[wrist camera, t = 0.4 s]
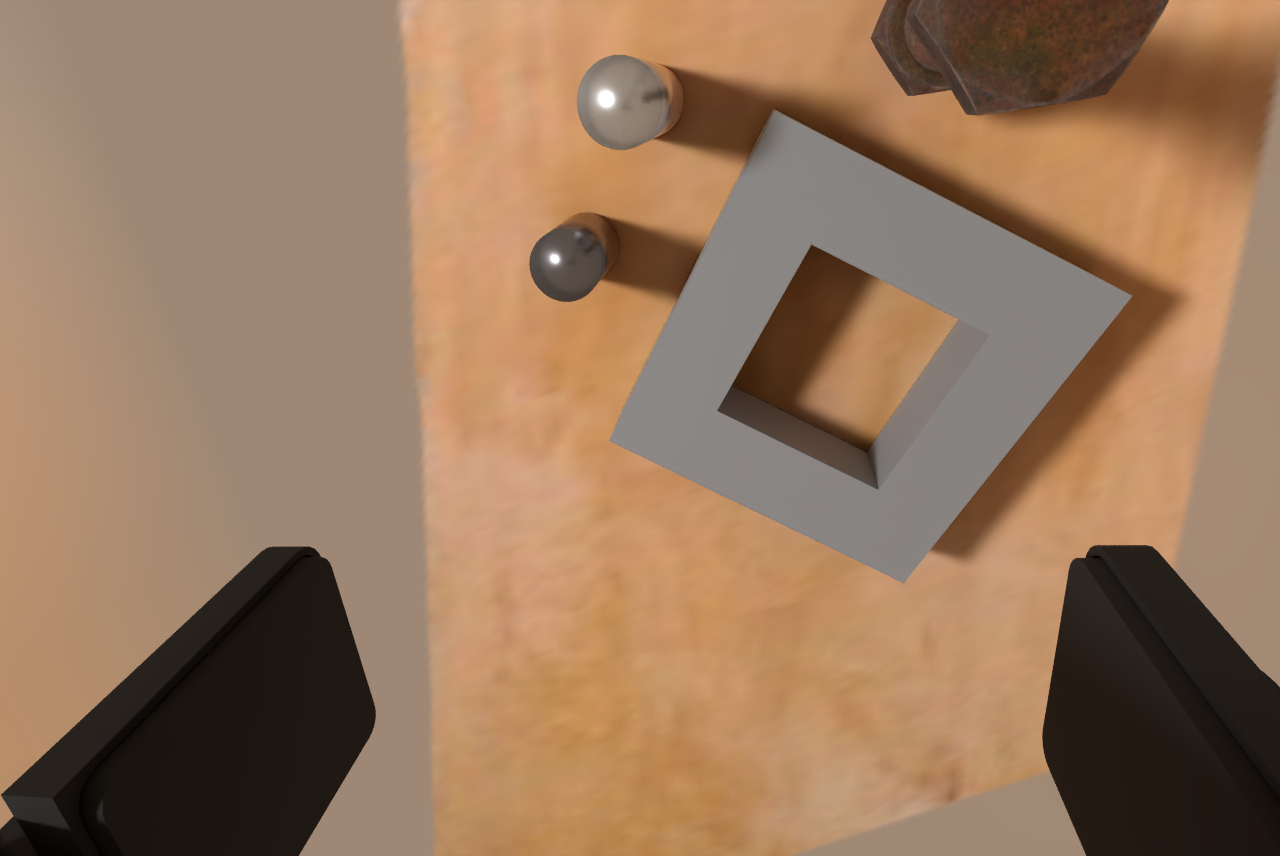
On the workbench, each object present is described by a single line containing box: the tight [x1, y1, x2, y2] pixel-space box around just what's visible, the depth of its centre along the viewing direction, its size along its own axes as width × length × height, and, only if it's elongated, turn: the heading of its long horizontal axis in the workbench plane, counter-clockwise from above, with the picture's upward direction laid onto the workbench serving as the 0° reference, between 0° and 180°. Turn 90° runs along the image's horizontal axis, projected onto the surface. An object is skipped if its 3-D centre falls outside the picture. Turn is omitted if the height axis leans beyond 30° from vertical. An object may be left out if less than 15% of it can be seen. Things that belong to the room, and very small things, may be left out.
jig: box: [609, 109, 1132, 583], centre depth 34 cm, size 16×16×4 cm
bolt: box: [871, 0, 1169, 115], centre depth 24 cm, size 6×5×15 cm
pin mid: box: [577, 55, 684, 150], centre depth 29 cm, size 3×3×8 cm
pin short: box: [530, 213, 619, 302], centre depth 34 cm, size 3×3×5 cm
